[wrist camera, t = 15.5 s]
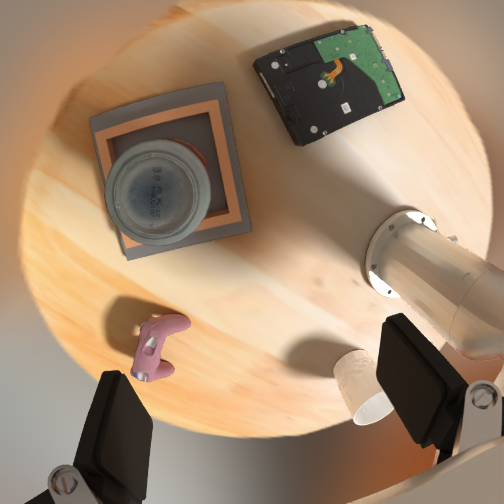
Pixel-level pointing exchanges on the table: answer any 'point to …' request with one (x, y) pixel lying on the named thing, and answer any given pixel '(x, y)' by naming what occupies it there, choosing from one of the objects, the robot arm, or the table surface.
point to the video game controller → (156, 346)
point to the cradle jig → (193, 131)
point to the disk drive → (329, 82)
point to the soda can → (158, 191)
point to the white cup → (361, 387)
